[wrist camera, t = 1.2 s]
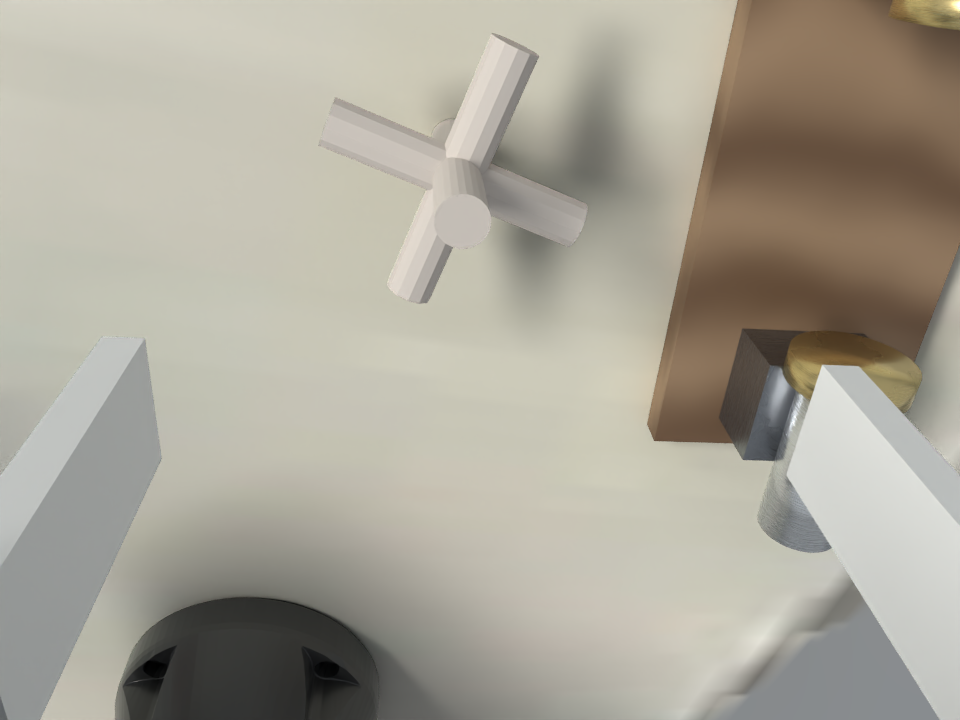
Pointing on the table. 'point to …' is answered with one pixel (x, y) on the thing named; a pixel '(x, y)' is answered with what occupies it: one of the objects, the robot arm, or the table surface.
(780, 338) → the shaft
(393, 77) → the table surface
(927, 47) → the board
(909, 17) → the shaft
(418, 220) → the pipe connector
